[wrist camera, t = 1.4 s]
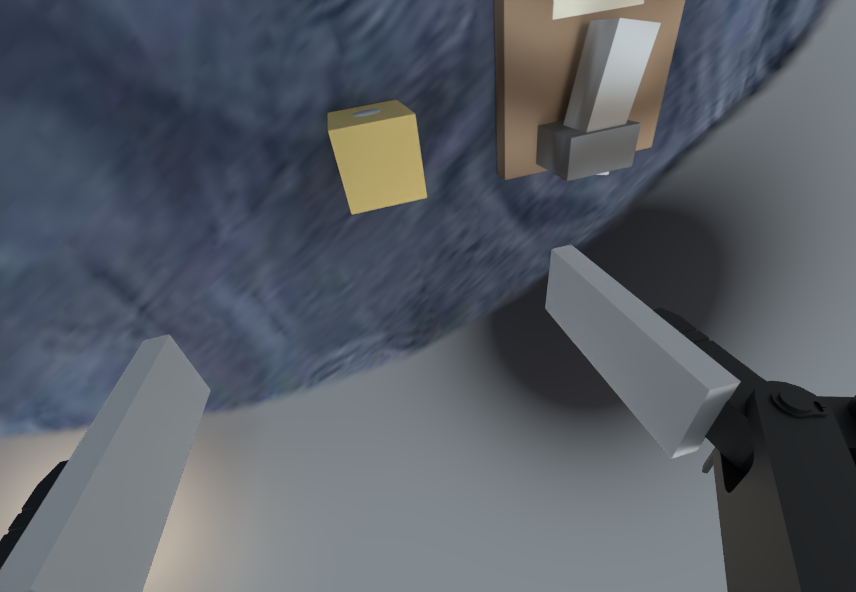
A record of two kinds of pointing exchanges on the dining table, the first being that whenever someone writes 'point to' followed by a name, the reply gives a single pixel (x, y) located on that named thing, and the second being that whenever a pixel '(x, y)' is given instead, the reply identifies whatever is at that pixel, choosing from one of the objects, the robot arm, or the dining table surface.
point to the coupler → (377, 155)
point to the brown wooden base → (579, 82)
